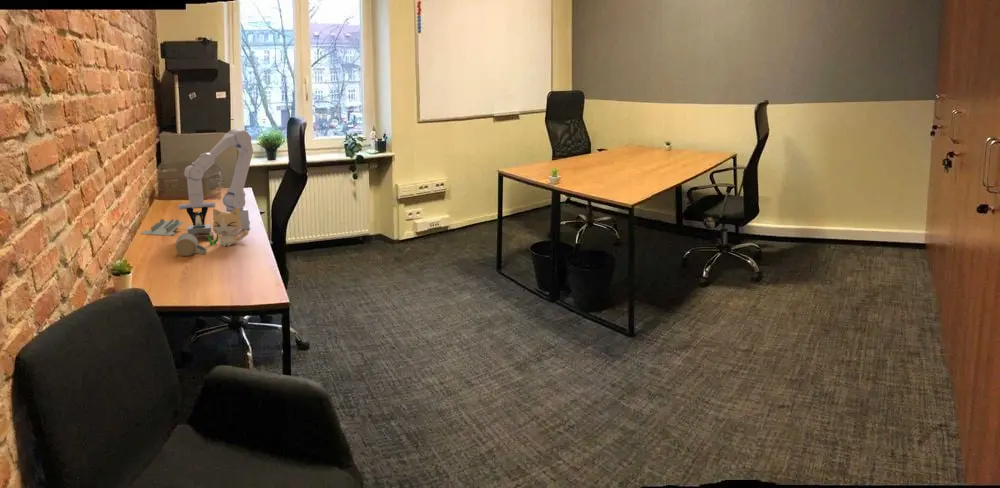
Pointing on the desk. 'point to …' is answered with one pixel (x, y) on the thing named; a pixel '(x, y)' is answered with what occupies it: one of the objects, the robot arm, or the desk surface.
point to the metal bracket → (163, 228)
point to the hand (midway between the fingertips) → (198, 224)
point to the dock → (199, 229)
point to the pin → (198, 219)
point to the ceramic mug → (188, 245)
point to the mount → (204, 236)
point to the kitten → (227, 227)
